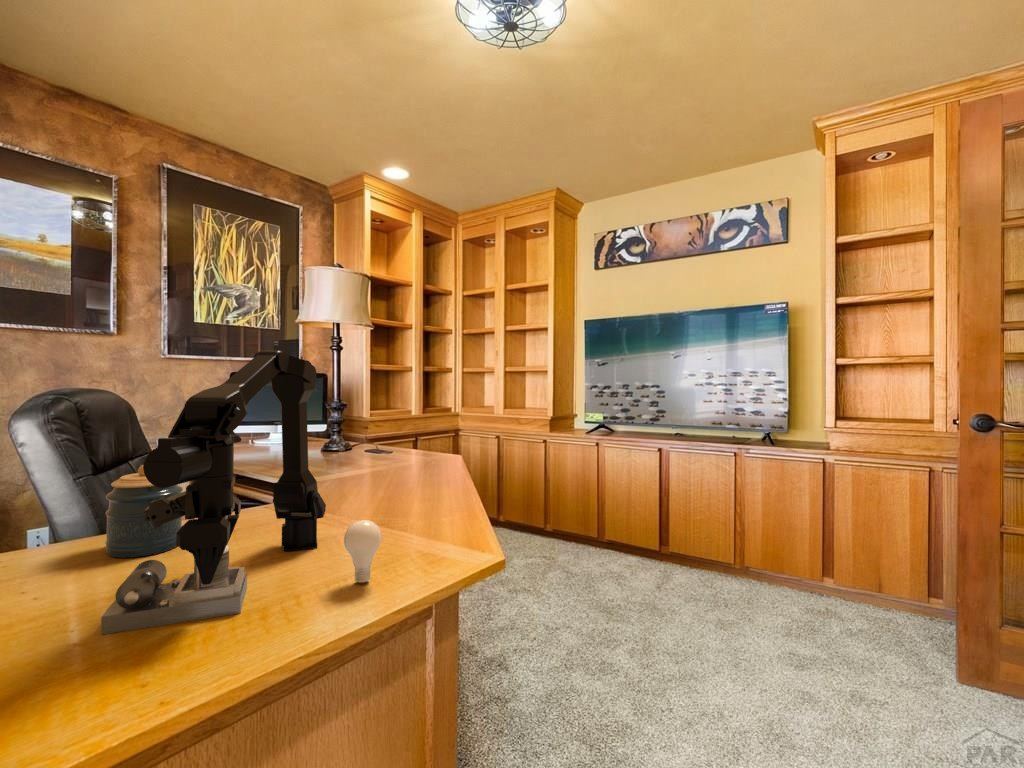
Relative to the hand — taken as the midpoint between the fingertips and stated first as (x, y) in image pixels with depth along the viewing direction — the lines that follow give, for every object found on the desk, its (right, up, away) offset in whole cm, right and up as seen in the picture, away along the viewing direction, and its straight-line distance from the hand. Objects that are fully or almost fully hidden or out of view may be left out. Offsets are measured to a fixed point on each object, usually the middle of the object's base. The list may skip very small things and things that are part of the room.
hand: (211, 572), depth 78 cm
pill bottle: (0, -3, 0) cm, 3 cm away
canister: (-29, -5, +25) cm, 39 cm away
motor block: (-4, -5, -2) cm, 6 cm away
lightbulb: (+21, -5, +9) cm, 24 cm away
